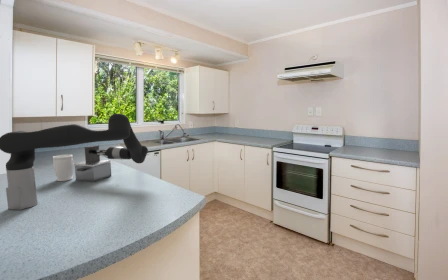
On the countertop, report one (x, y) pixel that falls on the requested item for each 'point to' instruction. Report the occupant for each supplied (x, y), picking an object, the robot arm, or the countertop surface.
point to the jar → (63, 167)
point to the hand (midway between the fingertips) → (94, 151)
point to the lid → (91, 157)
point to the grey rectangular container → (93, 172)
